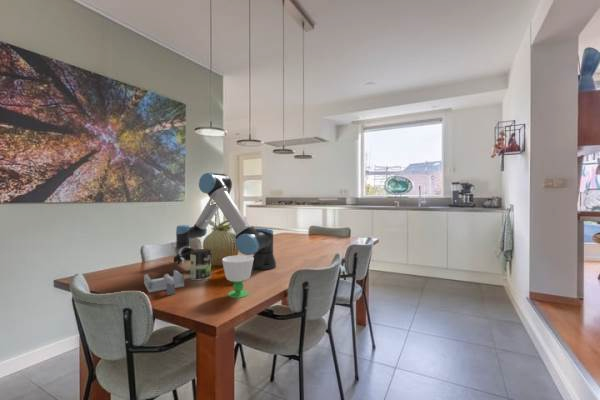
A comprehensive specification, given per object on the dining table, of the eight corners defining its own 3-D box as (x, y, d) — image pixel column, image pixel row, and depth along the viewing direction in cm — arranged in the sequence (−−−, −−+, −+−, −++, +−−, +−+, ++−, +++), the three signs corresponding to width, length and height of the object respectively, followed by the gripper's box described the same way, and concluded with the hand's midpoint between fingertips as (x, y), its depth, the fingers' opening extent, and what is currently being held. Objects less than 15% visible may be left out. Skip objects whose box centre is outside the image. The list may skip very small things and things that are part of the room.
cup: (224, 301, 121) (224, 263, 120) (219, 291, 133) (219, 256, 133) (257, 297, 126) (257, 260, 126) (249, 287, 139) (249, 254, 138)
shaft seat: (144, 283, 144) (143, 269, 143) (176, 278, 152) (176, 265, 152) (152, 298, 124) (152, 282, 124) (189, 291, 133) (188, 276, 133)
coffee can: (214, 275, 158) (214, 249, 158) (204, 281, 148) (204, 253, 148) (197, 274, 160) (196, 248, 160) (186, 279, 150) (185, 252, 150)
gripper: (208, 256, 182) (220, 263, 164) (164, 262, 167) (172, 270, 150) (208, 244, 182) (220, 250, 164) (164, 249, 167) (172, 256, 150)
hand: (197, 260), depth 157 cm, fingers open, 13 cm apart
